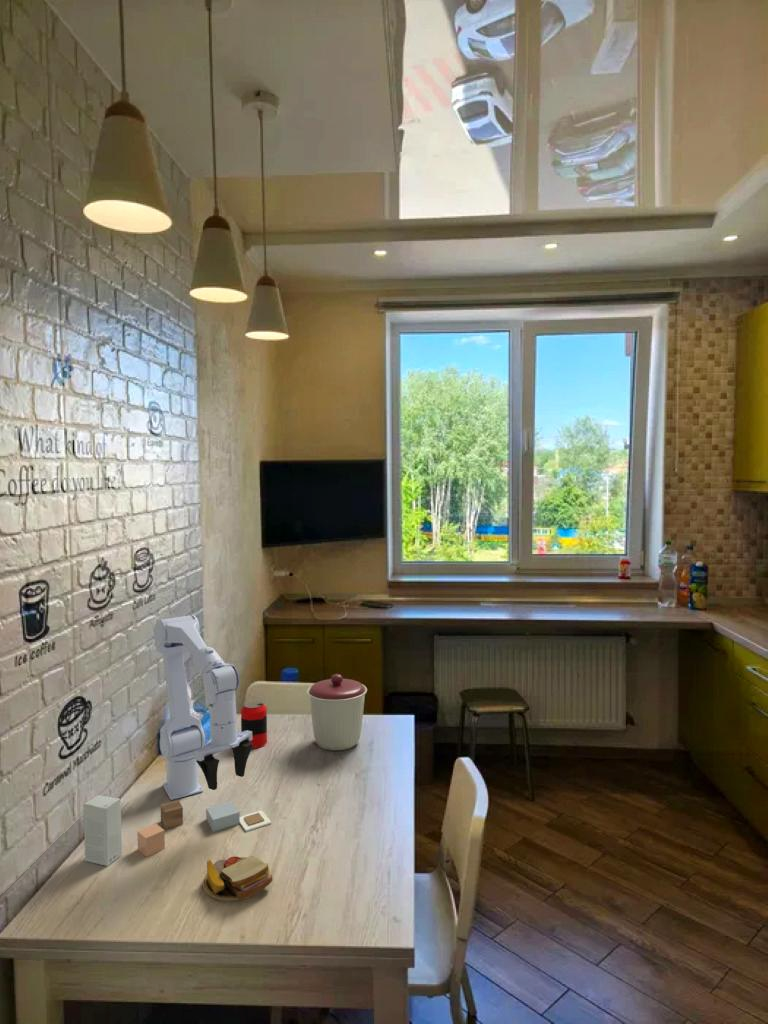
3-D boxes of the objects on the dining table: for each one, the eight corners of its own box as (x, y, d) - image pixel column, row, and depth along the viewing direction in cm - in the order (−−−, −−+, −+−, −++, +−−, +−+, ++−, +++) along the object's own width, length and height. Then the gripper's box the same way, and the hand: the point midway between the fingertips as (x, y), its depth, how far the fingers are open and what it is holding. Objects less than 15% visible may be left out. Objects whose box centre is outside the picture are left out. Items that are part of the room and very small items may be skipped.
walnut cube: (160, 821, 136) (160, 804, 136) (178, 816, 138) (178, 799, 138) (164, 829, 132) (164, 812, 132) (182, 824, 134) (182, 807, 134)
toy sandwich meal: (256, 855, 123) (255, 833, 123) (281, 892, 111) (281, 867, 111) (195, 876, 116) (194, 853, 116) (215, 918, 105) (215, 891, 105)
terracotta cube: (137, 849, 125) (137, 831, 125) (155, 841, 128) (155, 823, 128) (146, 857, 122) (146, 838, 122) (164, 848, 125) (164, 830, 125)
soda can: (264, 749, 174) (263, 708, 174) (238, 749, 174) (238, 709, 174) (269, 738, 182) (268, 700, 181) (245, 738, 182) (244, 700, 181)
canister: (315, 730, 188) (315, 664, 187) (371, 733, 185) (371, 666, 184) (300, 755, 170) (299, 682, 169) (361, 758, 167) (361, 685, 166)
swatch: (237, 819, 136) (237, 816, 136) (261, 811, 139) (261, 808, 139) (245, 831, 131) (245, 828, 131) (271, 823, 134) (271, 820, 134)
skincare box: (122, 855, 123) (121, 798, 123) (107, 867, 119) (105, 808, 119) (100, 849, 125) (98, 793, 125) (83, 861, 121) (82, 804, 121)
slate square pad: (206, 820, 136) (205, 807, 136) (231, 813, 140) (231, 800, 139) (213, 833, 131) (213, 819, 131) (239, 825, 134) (239, 812, 134)
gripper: (207, 733, 125) (211, 798, 124) (259, 714, 136) (263, 773, 136) (187, 728, 129) (190, 791, 128) (239, 710, 140) (243, 767, 140)
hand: (226, 782), depth 132 cm, fingers open, 7 cm apart
